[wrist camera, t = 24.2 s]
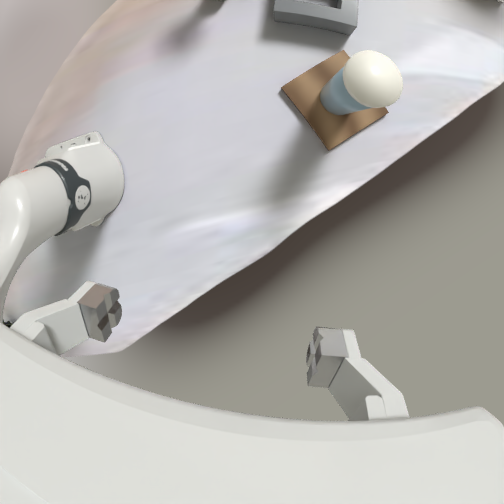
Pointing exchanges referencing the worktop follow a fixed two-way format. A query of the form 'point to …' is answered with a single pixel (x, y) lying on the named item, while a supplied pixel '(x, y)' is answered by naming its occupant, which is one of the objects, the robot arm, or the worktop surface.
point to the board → (309, 104)
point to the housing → (319, 15)
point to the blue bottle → (362, 84)
